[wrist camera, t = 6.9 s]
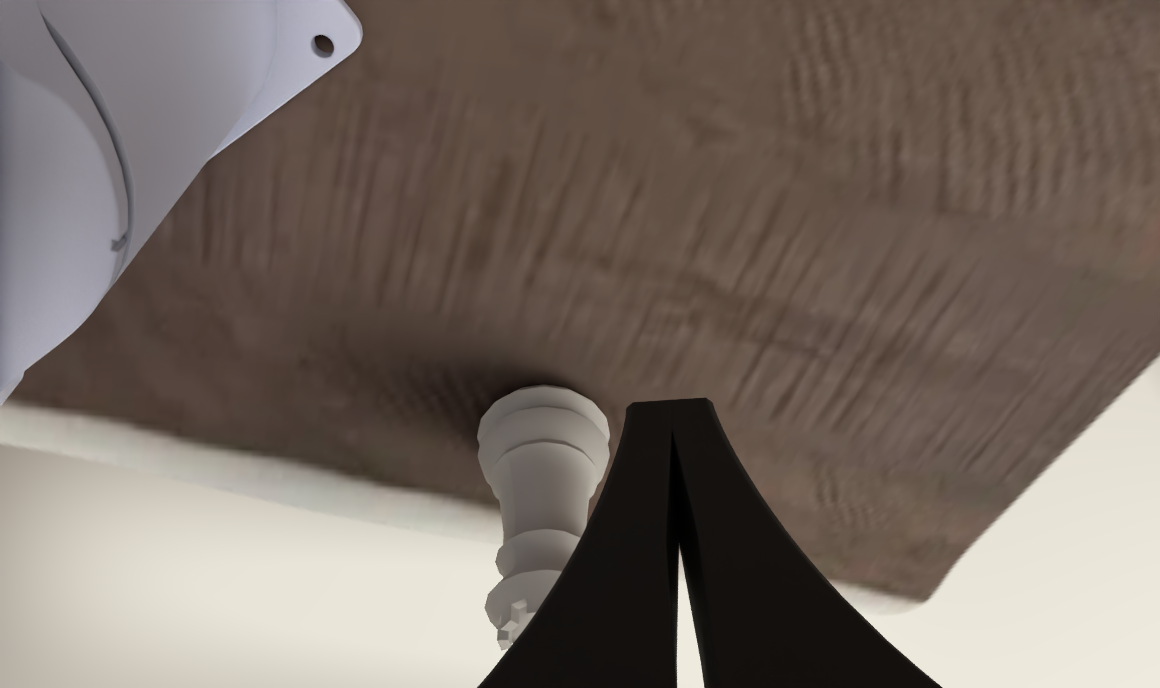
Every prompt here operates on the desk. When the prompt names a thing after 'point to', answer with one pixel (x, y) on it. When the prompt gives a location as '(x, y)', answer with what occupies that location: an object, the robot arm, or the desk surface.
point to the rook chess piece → (538, 492)
